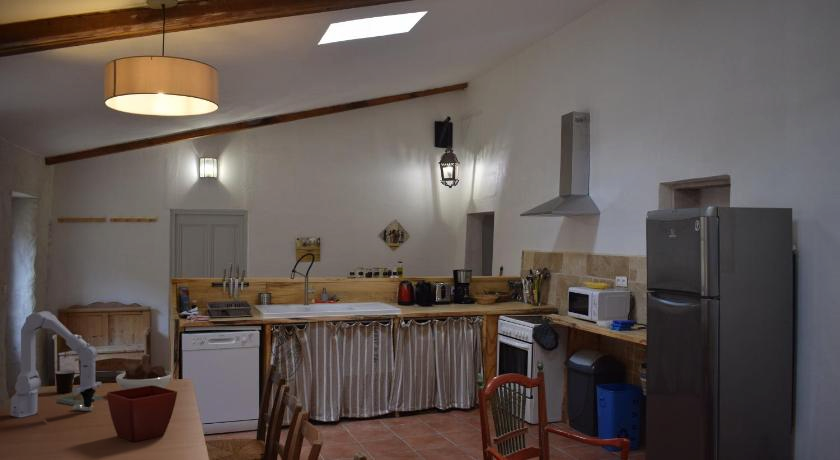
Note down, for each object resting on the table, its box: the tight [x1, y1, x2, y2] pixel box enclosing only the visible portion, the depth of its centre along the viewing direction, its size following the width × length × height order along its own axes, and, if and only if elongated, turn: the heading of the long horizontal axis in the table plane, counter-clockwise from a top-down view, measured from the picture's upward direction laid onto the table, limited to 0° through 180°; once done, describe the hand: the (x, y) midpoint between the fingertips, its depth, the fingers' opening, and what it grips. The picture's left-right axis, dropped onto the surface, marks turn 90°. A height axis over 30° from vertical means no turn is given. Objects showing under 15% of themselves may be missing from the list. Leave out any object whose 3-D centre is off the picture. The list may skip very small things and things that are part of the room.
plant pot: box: [106, 385, 178, 443], centre depth 255 cm, size 19×19×17 cm
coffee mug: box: [54, 369, 76, 395], centre depth 327 cm, size 12×9×10 cm
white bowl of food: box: [115, 363, 172, 390], centre depth 324 cm, size 25×25×15 cm
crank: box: [72, 399, 96, 412], centre depth 288 cm, size 10×4×5 cm, turn 72°
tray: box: [56, 394, 102, 406], centre depth 306 cm, size 13×13×2 cm
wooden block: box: [72, 387, 83, 401], centre depth 306 cm, size 4×4×6 cm
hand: (87, 406), depth 286 cm, fingers closed, pressing on crank
